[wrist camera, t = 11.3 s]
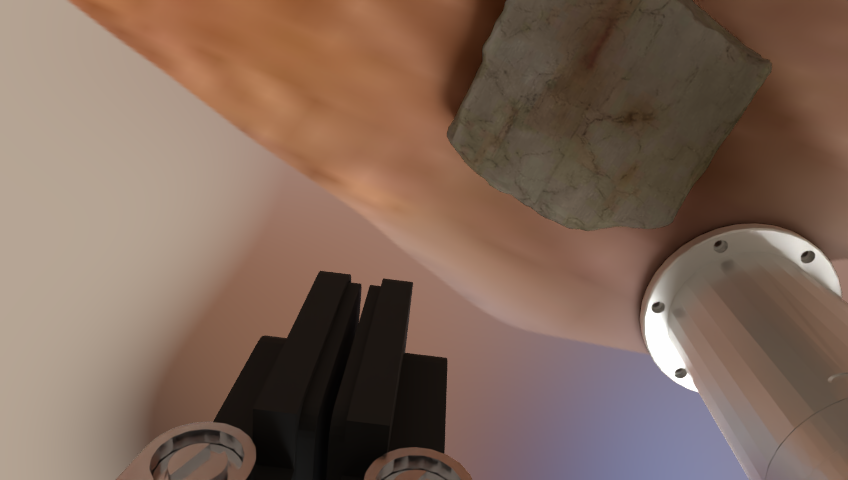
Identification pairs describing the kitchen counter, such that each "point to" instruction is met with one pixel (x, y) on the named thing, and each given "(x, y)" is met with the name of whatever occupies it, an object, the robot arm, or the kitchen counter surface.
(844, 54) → the kitchen counter surface
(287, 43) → the kitchen counter surface
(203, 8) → the kitchen counter surface
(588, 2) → the marble piece
